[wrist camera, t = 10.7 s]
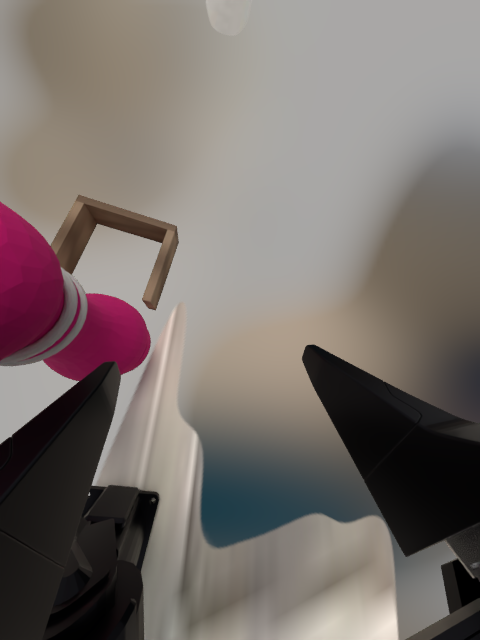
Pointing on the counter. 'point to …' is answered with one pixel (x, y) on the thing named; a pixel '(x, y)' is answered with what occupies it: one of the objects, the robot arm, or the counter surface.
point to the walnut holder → (95, 212)
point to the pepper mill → (59, 311)
